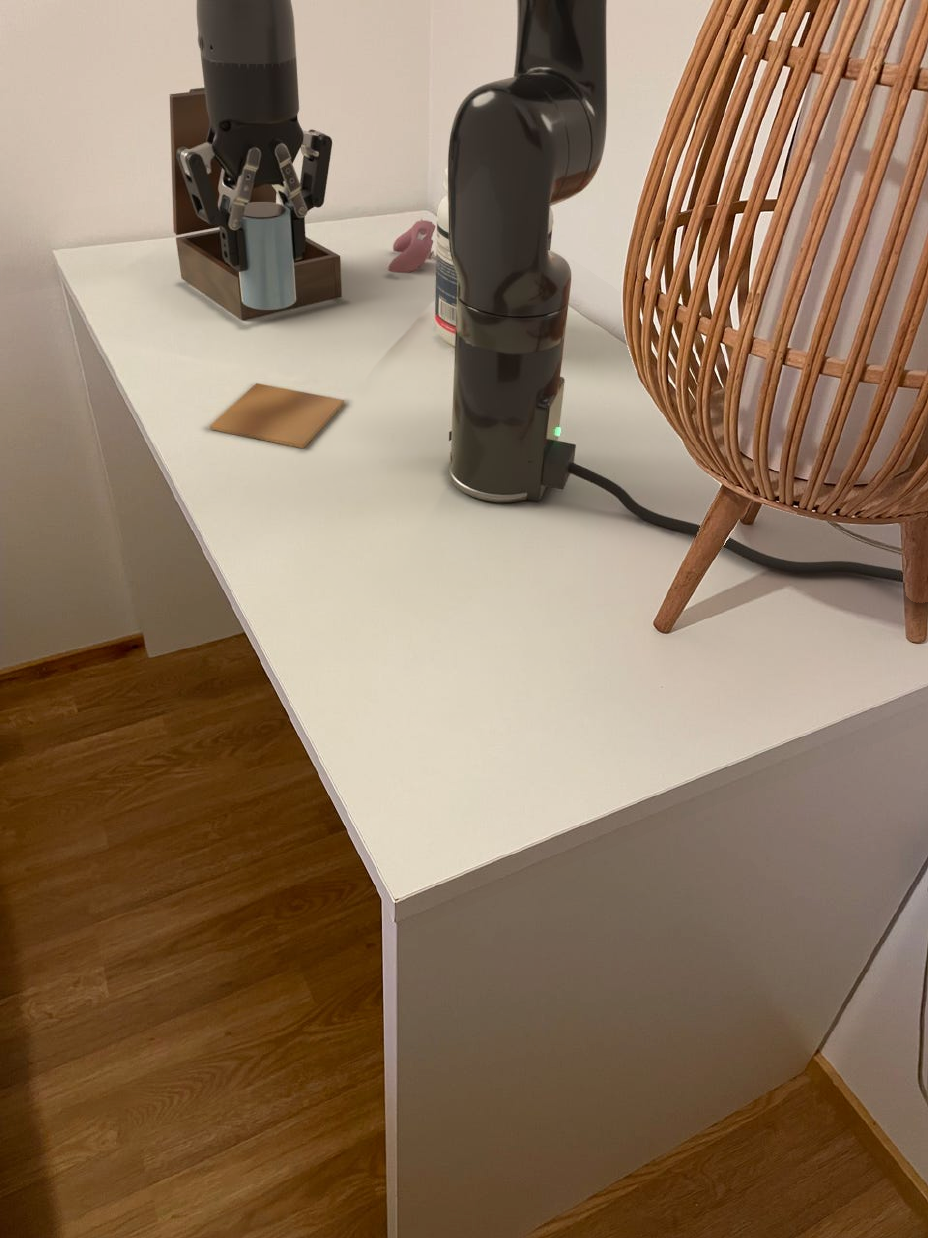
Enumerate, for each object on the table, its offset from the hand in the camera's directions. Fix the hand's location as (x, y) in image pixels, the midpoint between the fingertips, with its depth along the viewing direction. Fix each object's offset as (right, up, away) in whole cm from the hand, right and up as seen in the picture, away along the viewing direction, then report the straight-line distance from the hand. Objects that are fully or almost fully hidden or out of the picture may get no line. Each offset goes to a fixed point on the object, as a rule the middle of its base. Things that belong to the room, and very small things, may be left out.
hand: (266, 262), depth 88 cm
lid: (-10, +22, +28) cm, 37 cm away
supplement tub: (+21, +1, +27) cm, 34 cm away
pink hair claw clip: (+11, +15, +44) cm, 47 cm away
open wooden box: (-7, +8, +34) cm, 36 cm away
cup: (0, -3, +2) cm, 3 cm away
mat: (-1, -12, +10) cm, 15 cm away
